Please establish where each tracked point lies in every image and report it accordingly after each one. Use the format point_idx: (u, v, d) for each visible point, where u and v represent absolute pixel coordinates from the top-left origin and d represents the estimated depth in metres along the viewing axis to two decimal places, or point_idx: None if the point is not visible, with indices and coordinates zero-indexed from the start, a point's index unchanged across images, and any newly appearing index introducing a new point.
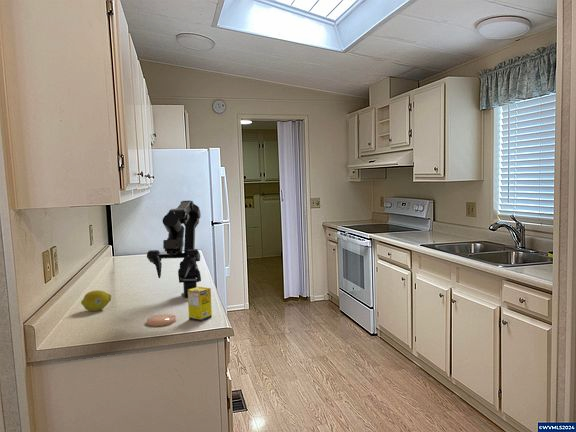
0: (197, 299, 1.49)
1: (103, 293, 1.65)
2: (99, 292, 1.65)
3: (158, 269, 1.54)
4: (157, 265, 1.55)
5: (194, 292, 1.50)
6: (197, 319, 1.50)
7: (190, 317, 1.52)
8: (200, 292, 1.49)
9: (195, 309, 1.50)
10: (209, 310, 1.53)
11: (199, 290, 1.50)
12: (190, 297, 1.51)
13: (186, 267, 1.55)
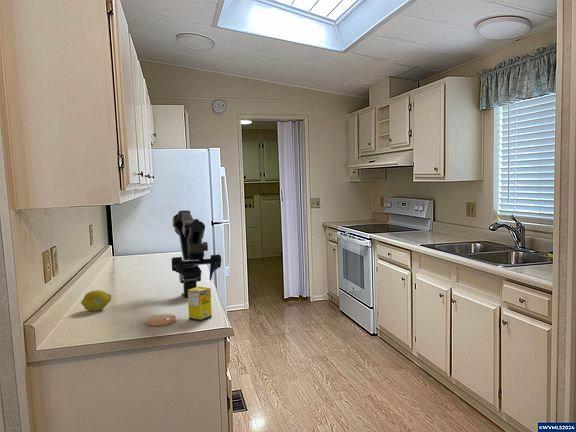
0: (197, 299, 1.49)
1: (103, 293, 1.65)
2: (99, 292, 1.65)
3: (184, 274, 1.58)
4: (182, 270, 1.59)
5: (194, 292, 1.50)
6: (197, 319, 1.50)
7: (190, 317, 1.52)
8: (200, 292, 1.49)
9: (195, 309, 1.50)
10: (209, 310, 1.53)
11: (199, 290, 1.50)
12: (190, 297, 1.51)
13: (211, 270, 1.61)
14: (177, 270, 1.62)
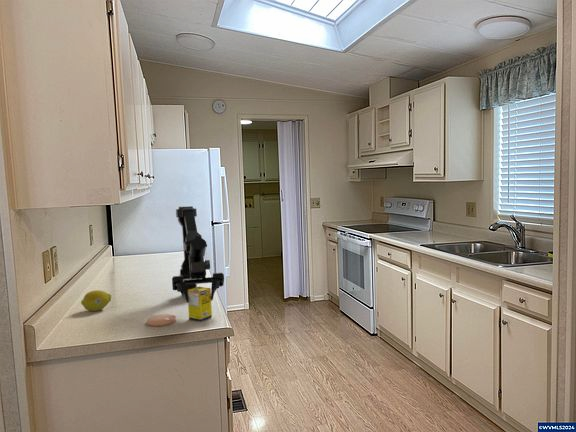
0: (197, 299, 1.49)
1: (103, 293, 1.65)
2: (99, 292, 1.65)
3: (186, 294, 1.51)
4: (184, 290, 1.52)
5: (194, 292, 1.50)
6: (197, 319, 1.50)
7: (190, 317, 1.52)
8: (200, 292, 1.49)
9: (195, 309, 1.50)
10: (209, 310, 1.53)
11: (199, 290, 1.50)
12: (190, 297, 1.51)
13: (213, 290, 1.54)
14: (179, 289, 1.55)
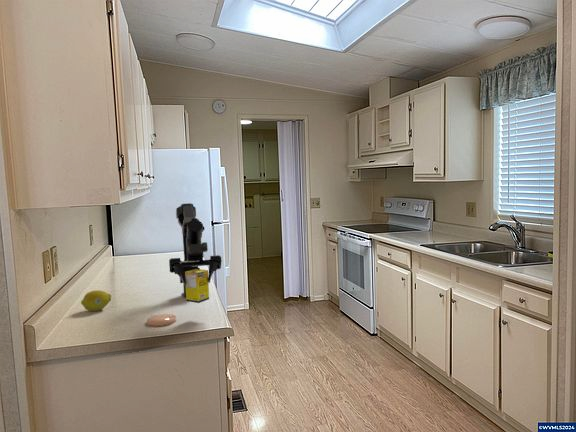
0: (195, 280, 1.49)
1: (103, 293, 1.65)
2: (99, 292, 1.65)
3: (183, 276, 1.51)
4: (182, 272, 1.51)
5: (191, 274, 1.49)
6: (194, 301, 1.50)
7: (187, 299, 1.51)
8: (197, 274, 1.49)
9: (192, 291, 1.50)
10: (206, 292, 1.53)
11: (196, 272, 1.50)
12: (188, 279, 1.51)
13: (210, 272, 1.54)
14: (176, 272, 1.54)
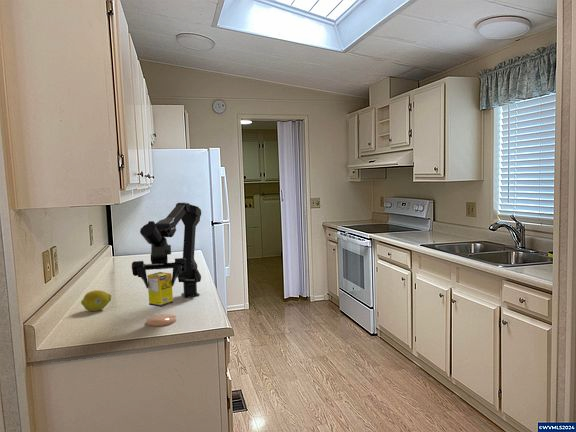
0: (157, 284, 1.46)
1: (103, 293, 1.65)
2: (99, 292, 1.65)
3: (146, 279, 1.48)
4: (144, 275, 1.49)
5: (154, 277, 1.47)
6: (156, 305, 1.47)
7: (150, 303, 1.48)
8: (159, 277, 1.46)
9: (154, 295, 1.47)
10: (170, 296, 1.50)
11: (159, 275, 1.47)
12: (150, 282, 1.48)
13: (174, 275, 1.51)
14: (139, 275, 1.51)
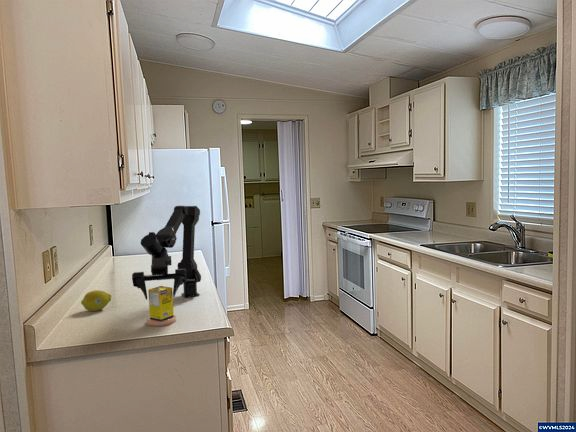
0: (157, 298, 1.46)
1: (103, 293, 1.65)
2: (99, 292, 1.65)
3: (145, 290, 1.48)
4: (144, 286, 1.49)
5: (154, 291, 1.47)
6: (157, 319, 1.47)
7: (151, 317, 1.49)
8: (160, 291, 1.46)
9: (155, 309, 1.47)
10: (171, 310, 1.50)
11: (160, 289, 1.47)
12: (151, 297, 1.48)
13: (175, 286, 1.51)
14: (139, 286, 1.51)
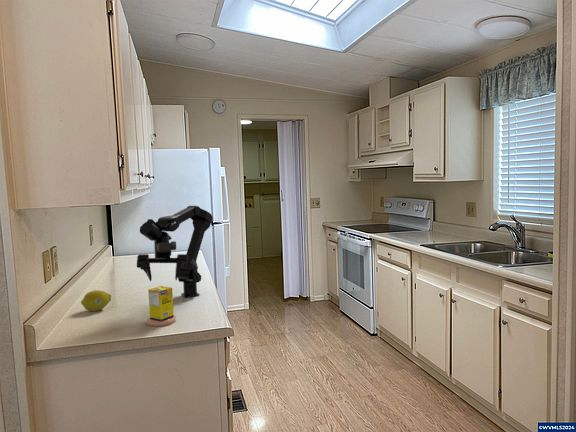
0: (157, 298, 1.46)
1: (103, 293, 1.65)
2: (99, 292, 1.65)
3: (150, 272, 1.57)
4: (148, 268, 1.57)
5: (154, 291, 1.47)
6: (157, 319, 1.47)
7: (151, 317, 1.49)
8: (160, 291, 1.46)
9: (155, 309, 1.47)
10: (171, 310, 1.50)
11: (160, 289, 1.47)
12: (151, 297, 1.48)
13: (177, 270, 1.61)
14: (142, 267, 1.60)
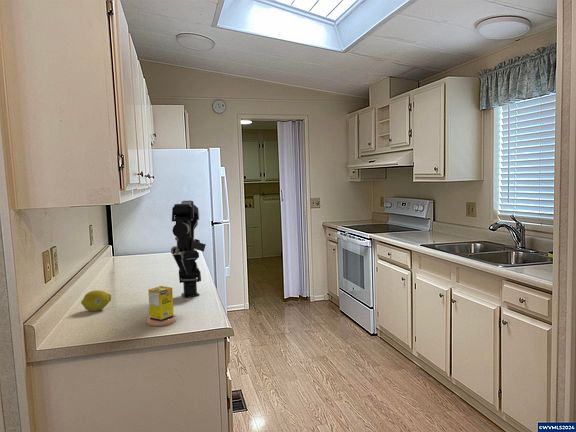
0: (157, 298, 1.46)
1: (103, 293, 1.65)
2: (99, 292, 1.65)
3: None
4: None
5: (154, 291, 1.47)
6: (157, 319, 1.47)
7: (151, 317, 1.49)
8: (160, 291, 1.46)
9: (155, 309, 1.47)
10: (171, 310, 1.50)
11: (160, 289, 1.47)
12: (151, 297, 1.48)
13: None
14: (186, 260, 1.63)
